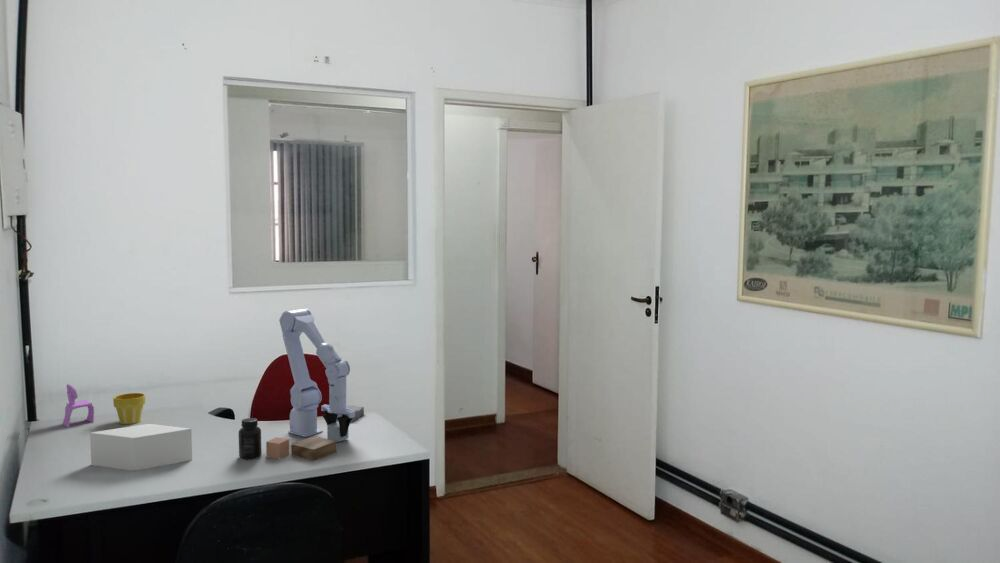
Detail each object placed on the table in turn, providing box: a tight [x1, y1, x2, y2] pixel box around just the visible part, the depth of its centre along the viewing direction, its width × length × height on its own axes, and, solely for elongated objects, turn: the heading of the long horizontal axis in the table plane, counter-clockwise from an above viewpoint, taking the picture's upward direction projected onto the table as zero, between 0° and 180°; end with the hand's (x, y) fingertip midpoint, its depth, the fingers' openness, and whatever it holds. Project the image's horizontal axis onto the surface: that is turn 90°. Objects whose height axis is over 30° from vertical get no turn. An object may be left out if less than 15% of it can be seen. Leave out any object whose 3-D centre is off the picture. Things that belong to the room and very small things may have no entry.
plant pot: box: [112, 392, 146, 425], centre depth 257 cm, size 10×10×10 cm
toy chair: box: [61, 383, 95, 428], centre depth 254 cm, size 8×9×15 cm
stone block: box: [336, 404, 365, 423], centre depth 268 cm, size 12×5×10 cm
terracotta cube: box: [265, 436, 290, 460], centre depth 224 cm, size 5×5×5 cm
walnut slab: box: [290, 435, 337, 462], centre depth 226 cm, size 10×10×4 cm
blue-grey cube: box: [326, 421, 349, 443], centre depth 240 cm, size 5×5×5 cm
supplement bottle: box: [238, 417, 263, 461], centre depth 222 cm, size 7×7×12 cm
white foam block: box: [89, 423, 193, 472], centre depth 215 cm, size 14×29×10 cm, turn 101°
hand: (337, 434), depth 240 cm, fingers closed on blue-grey cube, 5 cm apart
